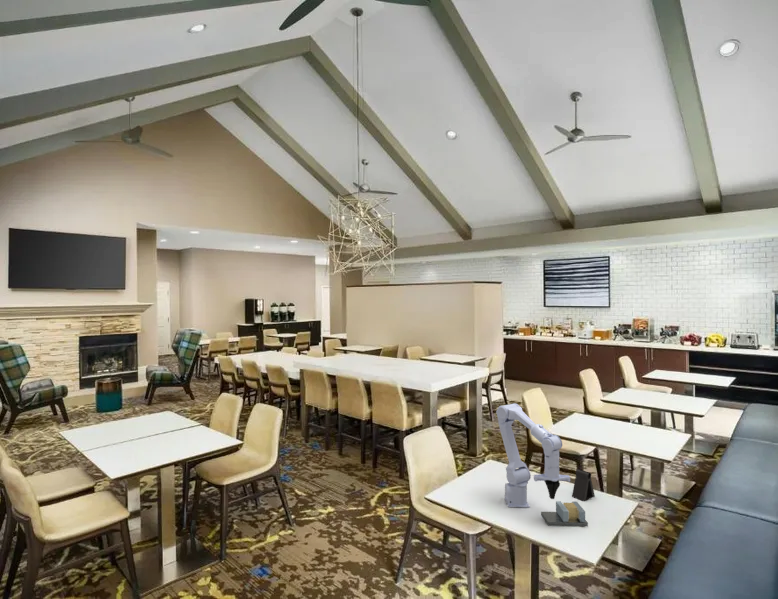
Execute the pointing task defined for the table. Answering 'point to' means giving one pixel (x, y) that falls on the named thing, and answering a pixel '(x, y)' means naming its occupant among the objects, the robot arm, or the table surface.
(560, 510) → the sliding jaw
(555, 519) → the vise
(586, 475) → the phone stand
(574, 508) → the brass block
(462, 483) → the table surface
